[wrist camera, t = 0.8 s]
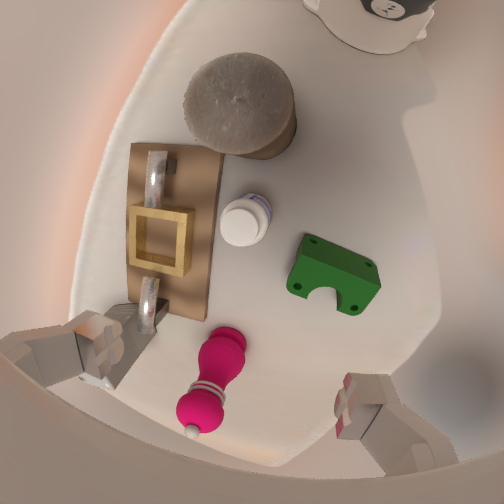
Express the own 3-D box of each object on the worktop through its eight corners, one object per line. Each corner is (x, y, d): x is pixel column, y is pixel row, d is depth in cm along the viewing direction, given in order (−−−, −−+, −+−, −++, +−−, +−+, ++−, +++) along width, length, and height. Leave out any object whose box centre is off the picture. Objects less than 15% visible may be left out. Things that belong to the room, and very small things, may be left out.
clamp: (302, 257, 42) (272, 282, 35) (318, 226, 39) (289, 245, 32) (366, 301, 38) (347, 336, 31) (387, 272, 34) (373, 304, 28)
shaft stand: (136, 143, 36) (97, 141, 27) (224, 149, 34) (201, 144, 26) (132, 297, 44) (103, 323, 36) (206, 317, 43) (186, 352, 34)
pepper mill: (253, 331, 42) (224, 432, 24) (244, 362, 45) (215, 457, 26) (210, 318, 43) (160, 410, 24) (204, 350, 45) (161, 438, 27)
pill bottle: (234, 231, 38) (214, 253, 29) (232, 192, 36) (210, 203, 27) (273, 232, 37) (265, 255, 28) (272, 192, 35) (264, 201, 26)
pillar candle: (311, 115, 31) (318, 80, 17) (269, 174, 35) (248, 178, 21) (249, 78, 31) (217, 30, 17) (209, 136, 34) (155, 120, 20)
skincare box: (145, 301, 44) (93, 354, 29) (159, 335, 46) (116, 393, 31) (111, 304, 46) (59, 350, 31) (125, 335, 48) (81, 385, 33)
